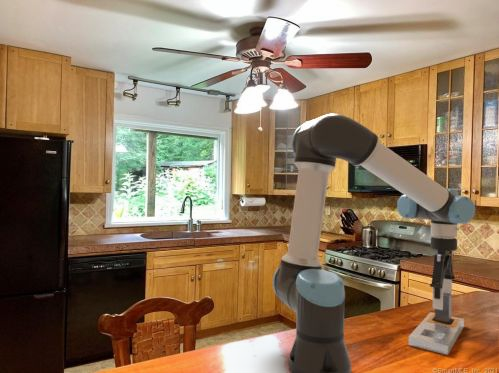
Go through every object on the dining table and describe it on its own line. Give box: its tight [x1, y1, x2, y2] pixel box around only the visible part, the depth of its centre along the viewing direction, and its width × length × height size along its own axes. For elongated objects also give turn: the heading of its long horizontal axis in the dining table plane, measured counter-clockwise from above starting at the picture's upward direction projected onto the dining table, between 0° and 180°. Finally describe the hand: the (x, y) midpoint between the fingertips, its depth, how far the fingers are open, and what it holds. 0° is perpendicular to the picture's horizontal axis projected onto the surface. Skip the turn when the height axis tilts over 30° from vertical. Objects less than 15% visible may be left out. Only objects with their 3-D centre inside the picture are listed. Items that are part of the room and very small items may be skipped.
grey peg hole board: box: [408, 311, 465, 356], centre depth 114 cm, size 10×26×3 cm, turn 142°
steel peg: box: [434, 292, 452, 325], centre depth 119 cm, size 4×4×11 cm
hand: (442, 303), depth 119 cm, fingers open, 13 cm apart
